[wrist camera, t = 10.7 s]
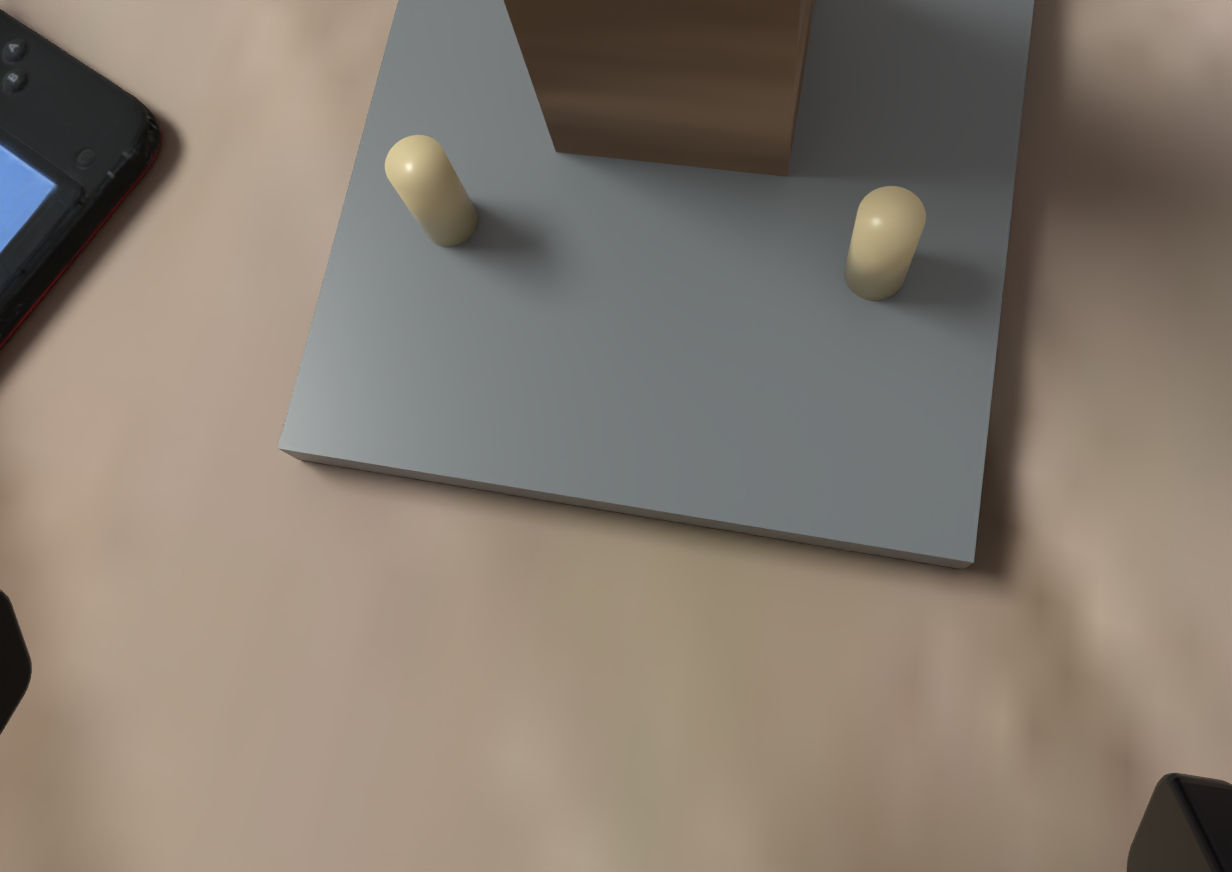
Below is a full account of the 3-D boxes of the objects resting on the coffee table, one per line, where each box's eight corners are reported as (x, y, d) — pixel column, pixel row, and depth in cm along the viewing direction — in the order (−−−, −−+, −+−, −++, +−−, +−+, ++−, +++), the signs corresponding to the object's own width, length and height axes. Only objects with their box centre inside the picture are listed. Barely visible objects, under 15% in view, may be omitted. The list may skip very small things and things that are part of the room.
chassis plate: (962, 569, 20) (1006, 541, 17) (298, 459, 22) (218, 415, 19) (1054, -257, 25) (1102, -409, 21) (492, -279, 27) (456, -420, 24)
